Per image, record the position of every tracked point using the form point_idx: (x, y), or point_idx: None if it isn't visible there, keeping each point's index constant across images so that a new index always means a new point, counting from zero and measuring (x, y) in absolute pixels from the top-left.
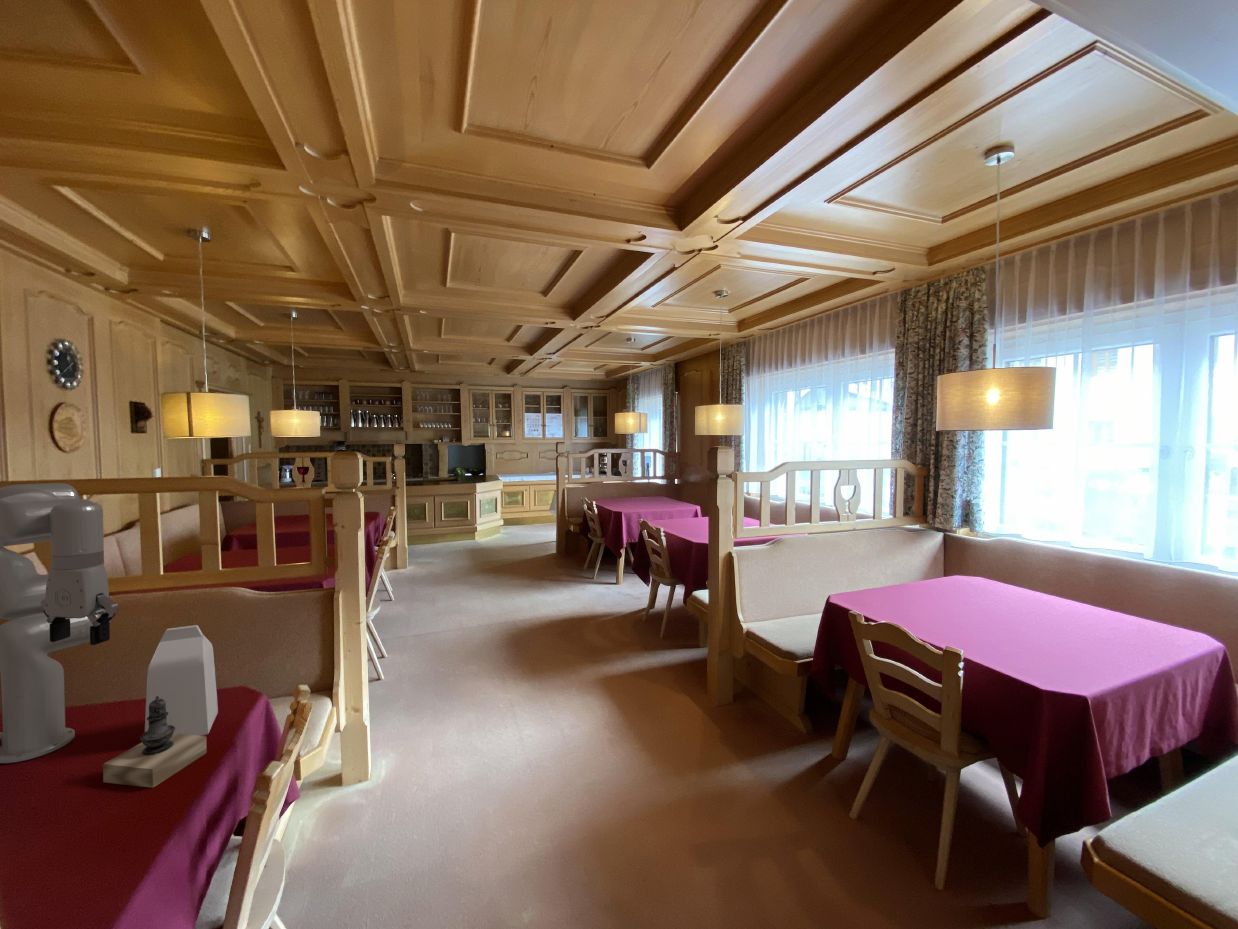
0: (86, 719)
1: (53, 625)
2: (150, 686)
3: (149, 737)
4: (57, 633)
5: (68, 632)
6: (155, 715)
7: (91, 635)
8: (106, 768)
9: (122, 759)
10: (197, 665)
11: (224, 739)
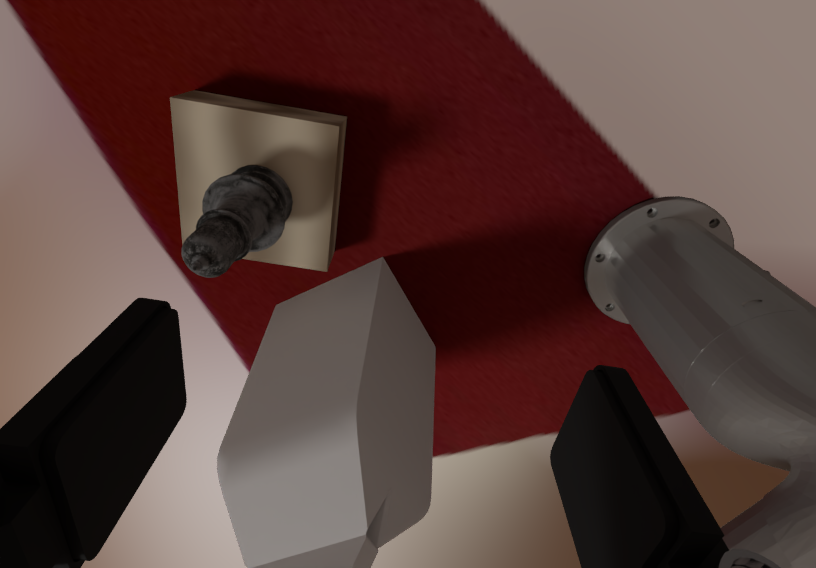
0: (626, 364)
1: (663, 514)
2: (355, 364)
3: (234, 184)
4: (603, 442)
5: (564, 483)
6: (205, 222)
7: (84, 356)
8: (329, 121)
9: (305, 147)
10: (234, 443)
11: (214, 283)
